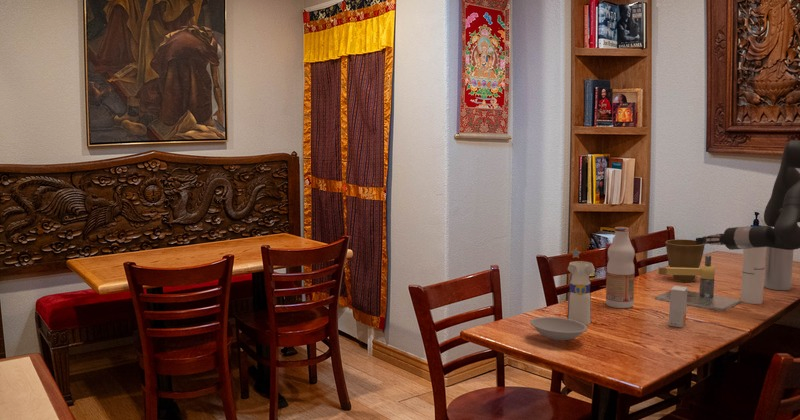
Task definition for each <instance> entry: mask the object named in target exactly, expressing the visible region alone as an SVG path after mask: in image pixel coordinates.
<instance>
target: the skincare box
mask: <svg viewBox="0 0 800 420" xmlns="http://www.w3.org/2000/svg"><path fill="white" fill-rule="evenodd" d="M670 291H671V293H670V302H669V314H668V315H669V316H668V317H669V318H668V326H670V327H675V328H676V327H677V328H683V327H684V325H686V322H687V321H686V320H687V306H688V305H687V291H688V287H687V286H678V285H674V286H672V288H671V289H670Z"/></svg>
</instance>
